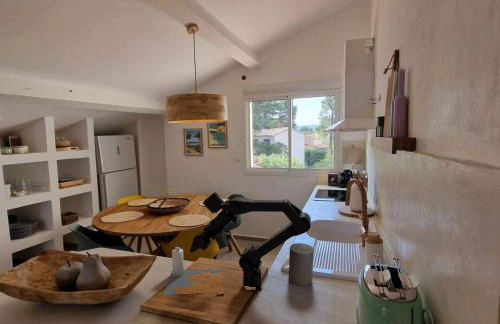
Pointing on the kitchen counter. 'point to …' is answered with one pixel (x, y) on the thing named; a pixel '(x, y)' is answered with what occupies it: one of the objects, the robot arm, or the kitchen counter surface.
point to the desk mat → (184, 280)
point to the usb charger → (177, 262)
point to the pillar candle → (301, 264)
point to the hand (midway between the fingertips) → (195, 247)
